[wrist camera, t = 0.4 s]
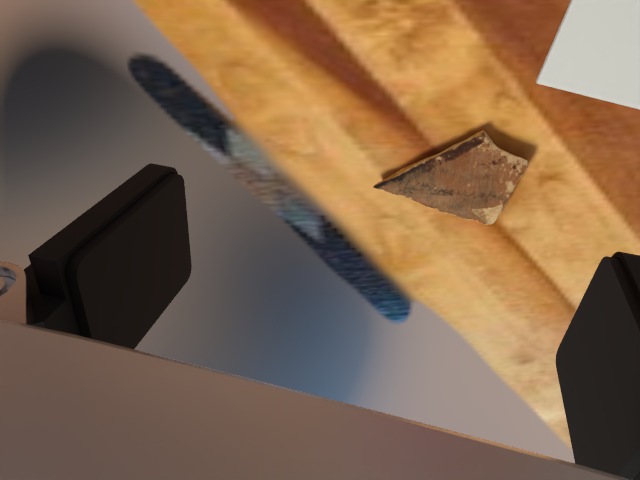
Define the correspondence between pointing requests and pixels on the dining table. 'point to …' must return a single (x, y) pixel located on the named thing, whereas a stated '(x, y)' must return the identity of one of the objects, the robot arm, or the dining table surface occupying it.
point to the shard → (461, 179)
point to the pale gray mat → (597, 51)
